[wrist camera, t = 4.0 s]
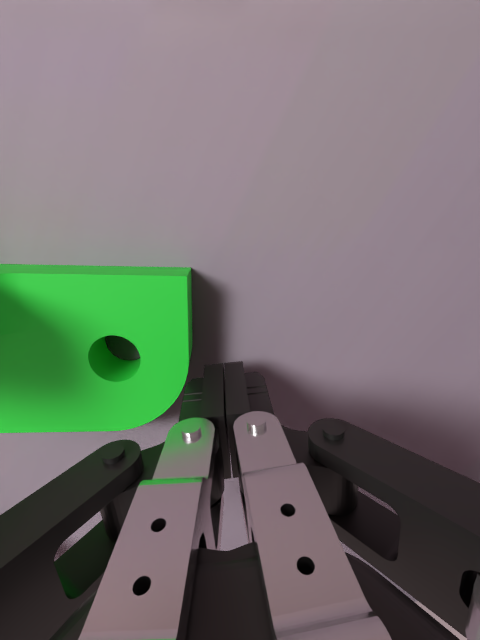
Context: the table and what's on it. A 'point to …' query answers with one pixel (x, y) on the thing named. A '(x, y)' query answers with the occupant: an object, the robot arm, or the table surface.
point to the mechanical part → (91, 345)
